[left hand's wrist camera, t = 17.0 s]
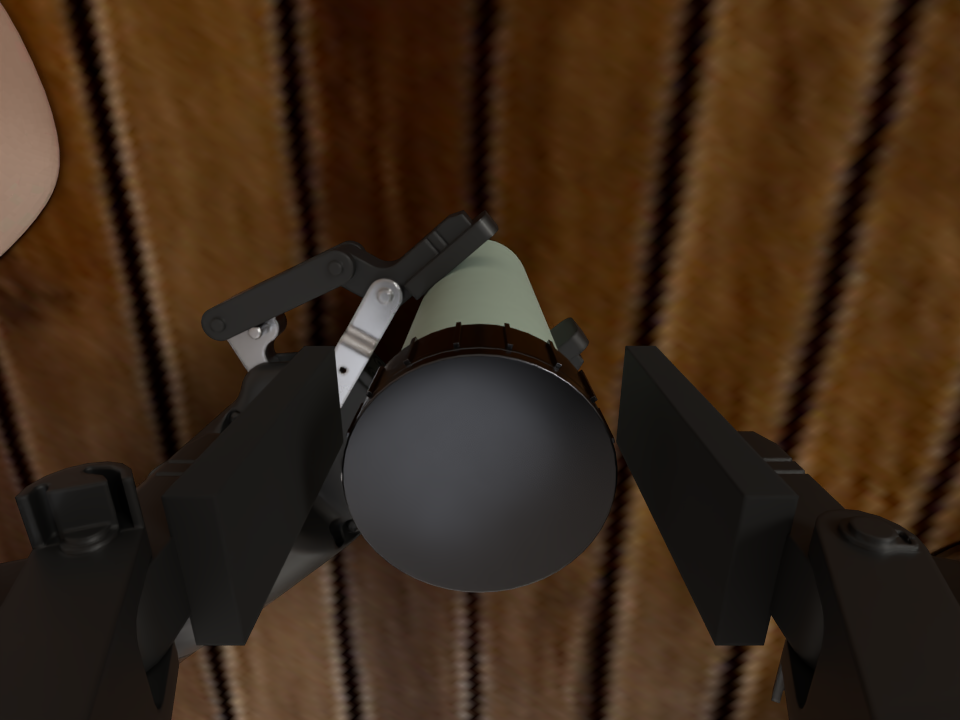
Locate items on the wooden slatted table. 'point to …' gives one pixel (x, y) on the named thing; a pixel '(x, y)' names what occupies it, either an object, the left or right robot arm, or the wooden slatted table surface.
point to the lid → (479, 460)
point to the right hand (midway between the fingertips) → (535, 277)
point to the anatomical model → (23, 138)
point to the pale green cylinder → (482, 296)
